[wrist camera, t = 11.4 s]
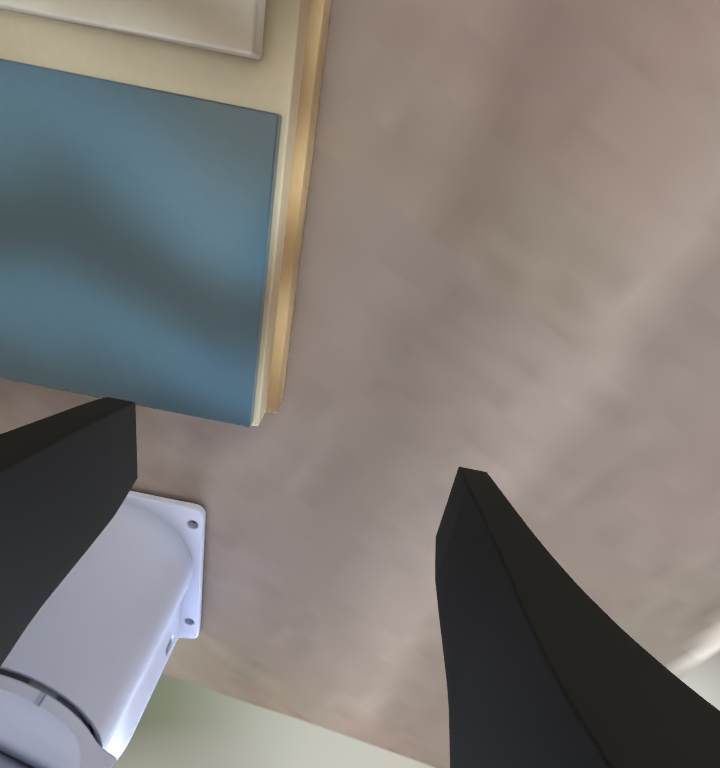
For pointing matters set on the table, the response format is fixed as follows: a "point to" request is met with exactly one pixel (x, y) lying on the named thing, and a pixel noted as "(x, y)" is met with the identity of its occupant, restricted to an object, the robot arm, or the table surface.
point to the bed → (156, 196)
